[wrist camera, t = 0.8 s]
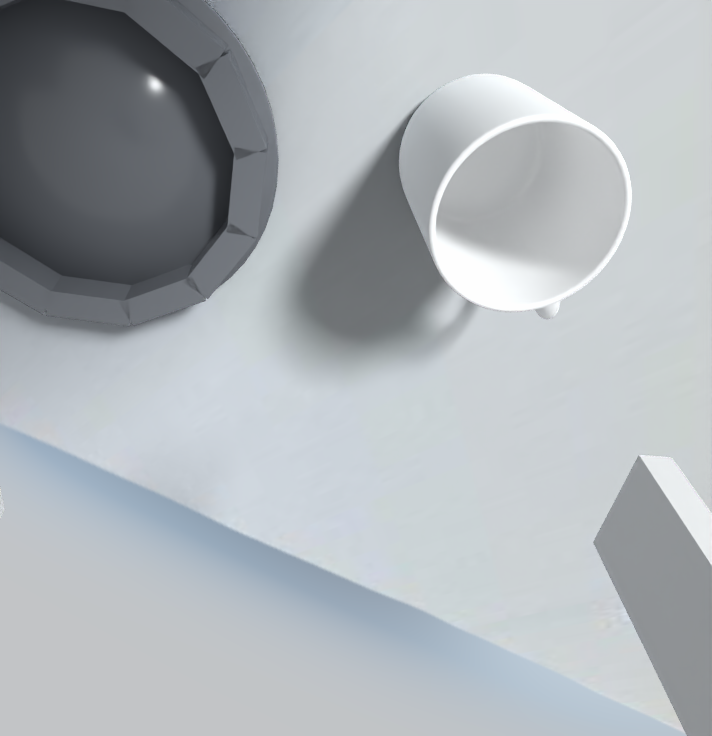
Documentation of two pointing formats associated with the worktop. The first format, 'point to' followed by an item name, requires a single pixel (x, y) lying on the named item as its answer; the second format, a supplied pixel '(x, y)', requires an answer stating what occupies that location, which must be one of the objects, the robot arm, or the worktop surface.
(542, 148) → the mug
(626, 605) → the robot arm
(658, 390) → the worktop surface
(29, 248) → the bowl
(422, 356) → the worktop surface
